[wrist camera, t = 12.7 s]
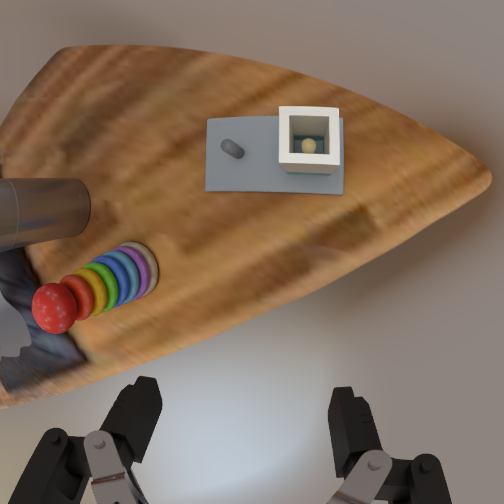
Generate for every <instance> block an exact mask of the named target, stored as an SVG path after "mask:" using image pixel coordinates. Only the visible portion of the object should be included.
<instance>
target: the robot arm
mask: <svg viewBox="0 0 504 504" xmlns="http://www.w3.org/2000/svg"><path fill="white" fill-rule="evenodd" d="M89 214H90V200H89V195H88V192H87V190H86V188H85V186H84V185H83V184H82V183H81V182H80V181H79V180H77V179H61V178H5V179H0V252H2V251H6V250H10V249H14V248H18V247H23V246H27V245H31V244H36V243H41V242H45V241H50V240H55V239H60V238H65V237H70V236H74V235H77V234H79V233H80V232H82V230H83V229H84V228H85V226H86V224H87V222H88V219H89ZM161 410H162V398H161V395H160V391H159V387H158V384H157V381H156V379H155V378H151V377H145V376H139V377H138V378H137V380H136V382H135V384H134V385H130V384H129V385H127V386H126V387H125V388H124V389H123V390H121V392H120V394H119V395H118V397H117V400H116V401H115V402H114V404H113V407H112V408H111V410H110V411H109V413H108V415H107V417H106V419H105V420H104V422H103V424H102V426H101V428H100V429H99V430H97V431H93V432H91V433H89V434H88V435H87V436H86V437H74V436H68V435H67V433H66V432H65V431H64V430H62V429H60V428H52V429H49V430H47V431H46V432H45V433H44V435H43V437H42V439H41V440H40V442H39V444H38V445H37V447H36V449H35V451H34V453H33V455H32V456H31V458H30V460H29V462H28V464H27V466H26V468H25V470H24V472H23V474H22V475H21V477H20V479H19V482H18V483H17V486H16V488H15V490H14V492H13V494H12V496H11V498H10V500H9V502H8V504H80V501H81V499H82V496H83V493H84V491H85V488H86V485H87V483H88V480H89V478H90V477H93V482H91V486H92V490H93V493H94V496H95V499H96V502H97V504H149V503H148V502H147V500H146V499H145V497H144V495H143V492H142V490H141V488H140V486H139V484H138V482H137V480H136V477H135V475H134V473H133V470H132V468H131V466H132V463H133V461H134V462H138V463H142V460H143V457H144V455H145V452H146V450H147V447H148V444H149V442H150V439H151V437H152V434H153V431H154V429H155V426H156V424H157V421H158V419H159V416H160V413H161ZM328 423H329V429H330V436H331V442H332V448H333V456H334V463H335V470H336V477H337V478H341V477H344V482H343V484H342V485H341V486H340V488H339V489H338V490H337V492H336V493H335V494H334V495H333V496H332V497H331V499H330V500H329V501H328V502H327V504H371V502H372V501H373V500H386V501H388V504H452V502H451V498H450V495H449V491H448V487H447V483H446V480H445V477H444V473H443V470H442V467H441V463H440V461H439V460H438V458H437V457H435V456H434V455H432V454H421V455H419V456H417V457H416V458H415V459H414V460H401V459H394V458H392V457H390V456H389V455H388V454H387V453H386V452H384V451H383V449H382V447H381V443H380V439H379V436H378V433H377V429H376V426H375V423H374V419H373V416H372V413H371V410H370V407H369V404H368V403H367V402H366V401H365V400H364V398H363V397H354V393H353V390H352V387H336V388H334V390H333V393H332V397H331V401H330V405H329V409H328Z"/></svg>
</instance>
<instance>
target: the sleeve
mask: <svg viewBox="0 0 504 504" xmlns="http://www.w3.org/2000/svg"><path fill="white" fill-rule="evenodd" d="M307 138H310V139H312V140H314V141H323V154H305V153H295V140H305V139H307ZM279 164H280V165H281V166H282V168H283V169H284V170H285V172H286V173H287V174H298V175H322V176H330V175H331V174H332V173H333V172H334V171H335V170H336V169H337V168H338V166H339V165H340V137H339V108H329V107H305V106H279Z"/></svg>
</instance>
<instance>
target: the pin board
mask: <svg viewBox="0 0 504 504" xmlns="http://www.w3.org/2000/svg"><path fill="white" fill-rule="evenodd" d="M339 137H340V165H339V166H338V168H337V169H336V170H335V171H334V172H333V173H332V174H331V175H330V176H322V175H298V174H287V173H286V172H285V170H284V169H283V168H282V166H281V165H280V164H279V116H248V117H228V118H213V119H207V141H206V175H205V191H243V192H290V193H314V194H334V195H343V177H344V144H343V118H339ZM295 153H305V154H323V141H314V140H312V139H310V138H307V139H305V140H295Z"/></svg>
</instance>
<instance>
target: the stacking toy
mask: <svg viewBox="0 0 504 504" xmlns="http://www.w3.org/2000/svg"><path fill="white" fill-rule="evenodd" d="M157 278H158V269H157V264H156V261H155V258H154V257H153V255H152V253H151V252H150V251H149V250H148V249H147V248H146V247H145V246H143V245H141V244H139V243H137V242H125V243H123V244H121V245H119V246H118V247H115V248H114V249H112V250H111V251H108V252H106V253H104V254H103V255H101V256H99V257H97V258H95V259H94V260H92V262H91V263H88V264H87V265H85V266H84V267H83V268H81V269H78V270H77V271H75V272H74V273H73V274H72V275H67V276H65V277H64V278H63V279H62V280H61V281H60V283H59V284H58V283H49V284H45V285H43V286H42V287H40V288H39V289H38V290H37V291H36V293H35V295H34V297H33V301H32V312H33V316H34V318H35V320H36V322H37V324H38V325H39V326H40V327H41V328H42V329H43V330H45V331H47V332H49V333H53V334H59V333H63V332H65V331H67V330H68V329H69V328H70V327H71V326H72V325H73V324H74V322H75V320H85V319H86V318H88V317H89V316H96V315H98V314H100V313H101V312H106V311H109V310H110V309H112V308H113V307H117V306H120V305H121V304H125V303H128V302H130V301H134V300H137V299H139V298H140V297H144V296H146V295H148V294H149V293H150V292H151V291H152V290H153V289H154V287H155V285H156V282H157Z"/></svg>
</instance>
